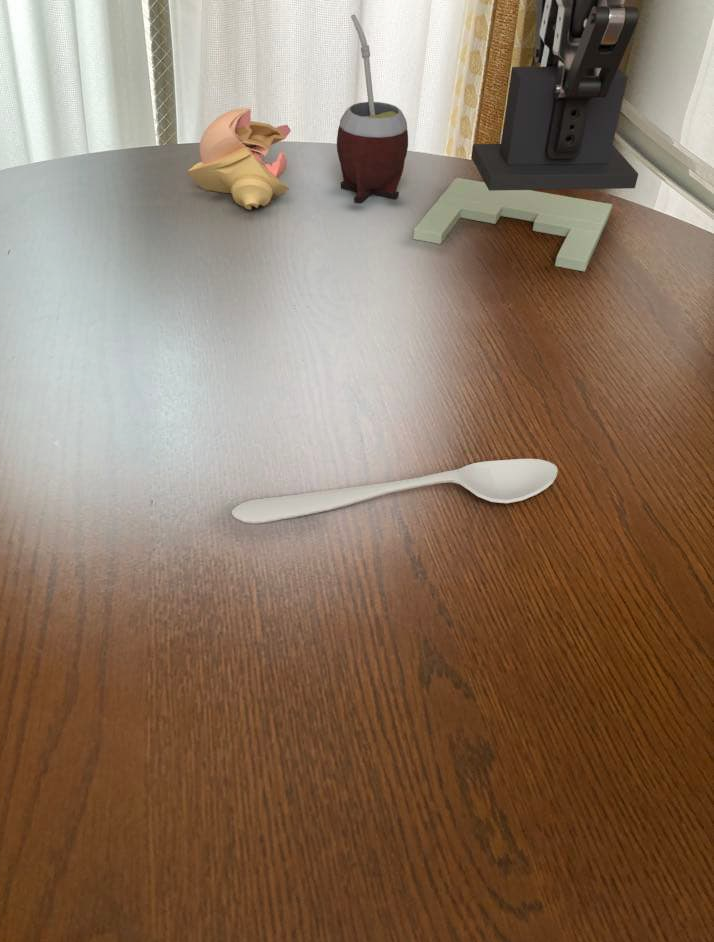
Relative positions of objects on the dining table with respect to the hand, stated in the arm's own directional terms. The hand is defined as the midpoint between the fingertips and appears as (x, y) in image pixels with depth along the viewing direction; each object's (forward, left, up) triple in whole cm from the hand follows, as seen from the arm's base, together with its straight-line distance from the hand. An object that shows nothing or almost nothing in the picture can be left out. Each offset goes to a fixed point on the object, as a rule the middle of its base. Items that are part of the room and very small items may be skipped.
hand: (555, 147), depth 63 cm
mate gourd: (+21, -23, -15) cm, 35 cm away
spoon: (+2, +23, -15) cm, 27 cm away
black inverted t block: (0, 0, -2) cm, 2 cm away
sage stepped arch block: (+5, -21, -15) cm, 26 cm away
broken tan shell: (+32, -16, -15) cm, 39 cm away
